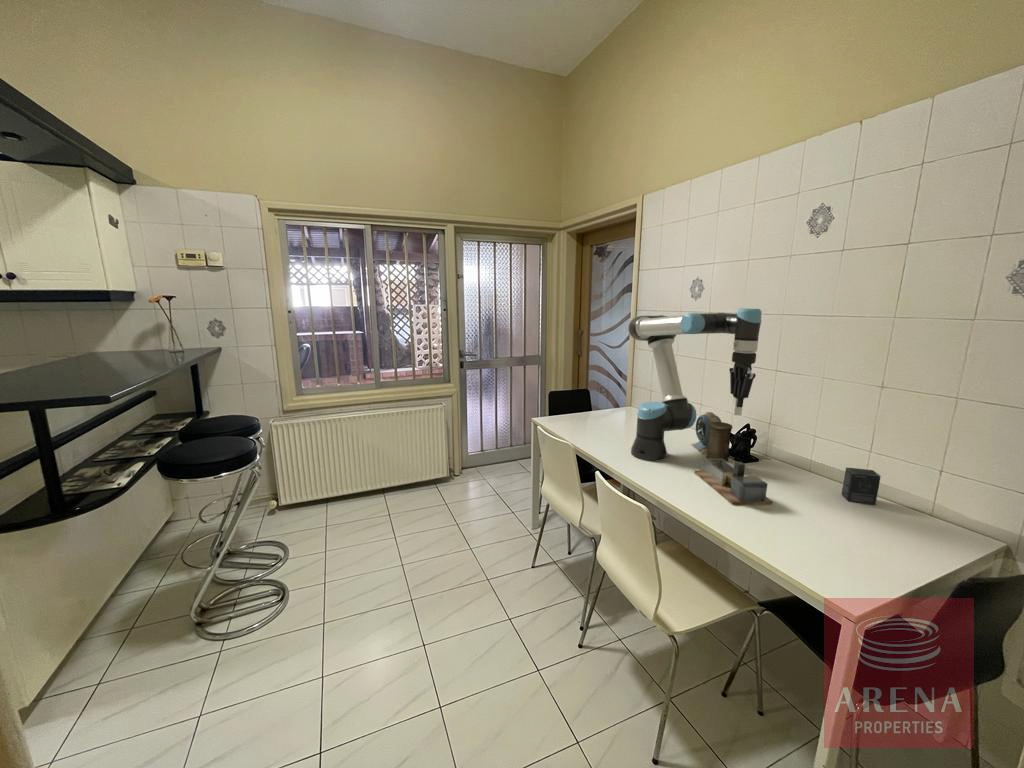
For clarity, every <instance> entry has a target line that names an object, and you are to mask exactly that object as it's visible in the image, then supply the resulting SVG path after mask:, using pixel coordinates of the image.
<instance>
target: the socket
mask: <svg viewBox="0 0 1024 768" xmlns="http://www.w3.org/2000/svg"><path fill="white" fill-rule="evenodd" d="M767 490H768V482H766V481H764V480H763V479H761V478H760V477H758V476H757V475H744V476H732V484H731V492H730V494H731V495H733V496H734V497H735V498H736V499H738V500H739V501H740V502H765V499H766V497H767Z"/></svg>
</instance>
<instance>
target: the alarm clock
mask: <svg viewBox="0 0 1024 768" xmlns="http://www.w3.org/2000/svg"><path fill="white" fill-rule="evenodd" d="M695 422H696V423H695V434H696V437H697V440H698V442H694V443H691V444H690V445H691V446H692V447H693V448H694V449H695V450H696V451H698V452H699V453H700V454H701V455H707V451H708V444H709V435H710V434H709V433H710V425H709V424H710V423H711V422H722V420H721V418H720V417H719V416H718V415H716V414H715V413H714V412H712V411H711V412H710V411H707V412H705V413H703V414H701V415H699V416H698V417H697V418H696V421H695Z"/></svg>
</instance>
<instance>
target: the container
mask: <svg viewBox="0 0 1024 768" xmlns="http://www.w3.org/2000/svg"><path fill="white" fill-rule="evenodd" d="M709 425H710V433H709V434H710V435H709V444H708V451H707V454H706V457H705V459H714V458H723V459H724V460H726V461H727V462H729V453H730V452H729V451H730V443H731V433H732V429H733V425H732V424H730V423H728V422H723V421H721V422H711V423H710V424H709ZM729 463H730V462H729Z"/></svg>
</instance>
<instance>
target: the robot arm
mask: <svg viewBox="0 0 1024 768" xmlns="http://www.w3.org/2000/svg"><path fill="white" fill-rule="evenodd" d="M762 314H763V313H762V310H761V308H747V307H746V308H738V310H737V313H731V312H730V313H727V312H713V313H702V312H701V313H700V312H699V313H698V312H690V313H686V314H678V315H672V316H671V315H669V316H668V315H664V314H663V315H662V314H661V315H639V316H636V317H634V318H632V319H631V320H630V322H629V324H628V326H627V327H628V333H629V336H630V337H632V338H633V339H634V340H636V341H641V342H642V341H645V342H646V341H647V344H648V345H647V347H649V348H650V349H652V353H653V357H654V362H655V367H656V371H657V376H658V381H659V386H660V391H661V396H662V397H661V398H662V399H661V401H647V402H644V403H641V404H640V405H639V406H638V408H637V414H636V416H637V419H636V420H637V421H636V432H635V433H636V435H635V438H634V441H633V443H632V446H631V448H630V454H631V455H632V456H633V457H634V458H637V459H640V460H645V461H650V462H656V461H658V462H659V461H664V460H665V459H666V458H667V456H668V455H667V454H668V452H667V451H668V450H667V447H666V443H665V432H670V431H682V430H688V429H690V428H692V427H693V426H694V424H695V422H696V421H697V410H696V407H695V406H694V405H693V404H692V403H690V402H689V401H688V400H689V399H688V397H686V396H684V395H683V391H682V387H681V386H682V385H681V381H680V378H679V376H680V375H679V371H678V367H677V363H676V362H677V361H676V359H675V353H674V350H673V349H674V348H673V344H674V343H675V338H676V337H677V335H701V334H703V335H704V334H705V335H706V334H726V335H727V334H731V335H734V337H733V338H734V340H733V347H732V348H733V352H732V354H731V362H732V363H734V364H733V367H730V368H729V373H730V375H729V377H730V378H729V379H730V381H729V382H730V385H729V386H730V389H729V390H730V392H729V393H730V394H731V395H732V397H733V402H732V410H731V415H732V416H742V413H743V406H744V400H745V399H748V398H749V395H750V392H751V389H752V385H753V383H754V380H755V378H756V376H757V375H756V373H753V372H752V365H754V364H755V363H756V361H757V359H756V358H757V352H758V346H759V336H760V329H761V324H762Z"/></svg>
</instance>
